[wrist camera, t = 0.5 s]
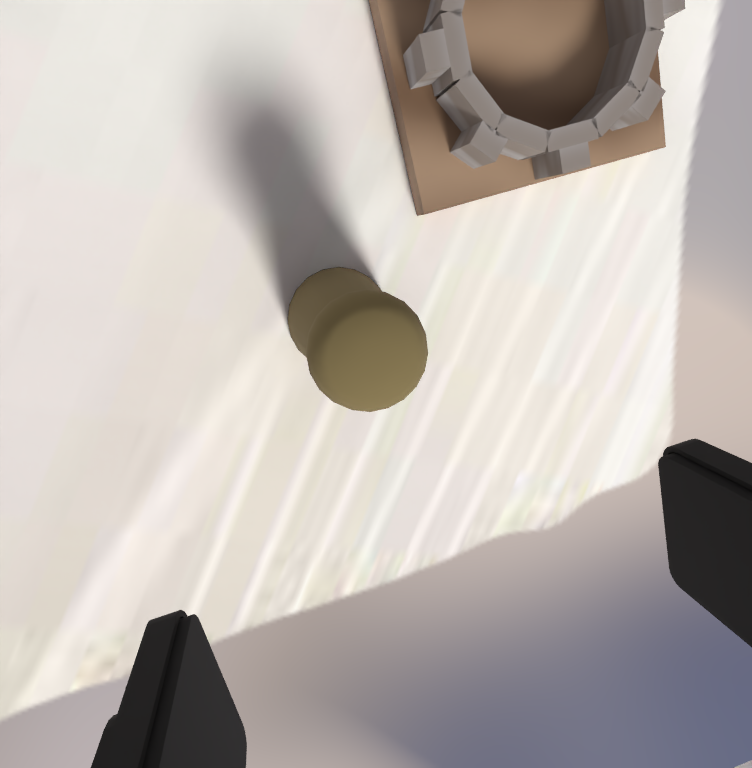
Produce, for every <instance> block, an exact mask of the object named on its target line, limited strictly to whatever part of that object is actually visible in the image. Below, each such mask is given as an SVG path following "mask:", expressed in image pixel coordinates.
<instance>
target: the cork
mask: <svg viewBox="0 0 752 768" xmlns="http://www.w3.org/2000/svg"><path fill="white" fill-rule="evenodd" d="M288 325H289V330H290V335H291V338H292V339H293V341H294V343H295V345H296V346H297V348H298V350H299V351H300V352H301V353H302V354H303V355H304V356H306V357H307V361H308V366H309V371H310V374H311V376H312V377H313V379H314V381H315V383H316V385H317V386H318V388H319V390H320V391H322V392H323V393H324V394H325V395H326V396H327V397H328V398H329V399H331V400H332V401H333V402H335V403H337V404H339V405H342V406H344V407H346V408H349V409H351V410H357V411H367V412H372V411H377V410H381V409H386V408H389V407H391V406H393V405H395V404H396V403H398V402H400V401H402V400H404V399H405V398H406V397H407V396H408V395H409V394H410V393H411V392H412V391H413V389H414V388H415V387H416V386H417V384H418V383H419V381H420V379H421V377H422V375H423V373H424V371H425V367H426V361H427V356H428V349H427V341H426V334H425V331H424V329H423V327H422V324H421V322H420V320H419V318H418V316H417V315H416V314H415V312H414V311H413V310H412V309H411V308H410V307H409V306H408V305H407V304H406V303H405V302H404V301H402V300H400V299H398V298H396V297H394V296H392V295H390V294H388V293H386V292H382V291H381V289H380V288H379V287H378V286H377V285H376V284H375V283H374V282H373V281H372V280H371V279H370V278H369V277H368V276H366V275H364V274H362V273H360V272H358V271H356V270H354V269H348V268H341V267H336V268H330V269H324V270H321V271H319V272H317V273H315V274H314V275H312V276H310V277H308V278H307V279H306V280H305V281H304V282H303V283H302V284H301V285H300V286H299V287H298V288H297V289H296V292H295V294H294V296H293V298H292V300H291V302H290V304H289V313H288Z"/></svg>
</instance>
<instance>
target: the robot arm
mask: <svg viewBox="0 0 752 768" xmlns="http://www.w3.org/2000/svg"><path fill="white" fill-rule="evenodd" d="M658 466H659V476H660V485H661V495H662V504H663V513H664V523H665V533H666V542H667V551H668V560H669V569H670V573H671V575H672V577H673V579H674V581H675V582H676V584H677V585H678V586H679V587H680V588H681V589H682V590H683V591H685V592H686V593H687V594H688V595H690V596H691V597H692V598H693V599H694V600H695V601H697V602H698V603H699V604H700V605H702V606H703V607H704V608H705V609H706V610H708V611H709V612H710V613H711V614H712V615H714V616H715V617H716V618H717V619H718V620H720V621H721V622H722V623H723V624H724V625H726V626H727V627H728V628H729V629H730V630H732V631H733V632H734V633H735V634H736V635H738V636H739V637H740V638H741V639H743V640H744V641H745V642H746V643H747V644H749V645H750V646H751V647H752V463H750V462H748V461H746V460H744V459H741V458H739V457H737V456H735V455H732V454H730V453H728V452H726V451H723V450H721V449H719V448H717V447H714V446H712V445H710V444H708V443H706V442H703V441H701V440H698V439H691V440H688V441H685V442H682V443H679V444H676V445H673V446H670V447H667V448H666V449H665V450H664V453H663V457H661V458H660V459H659V463H658ZM246 749H247V743H246V735H245V730H244V726H243V724H242V721H241V719H240V716H239V714H238V712H237V709H236V707H235V704H234V702H233V699H232V697H231V695H230V692H229V690H228V687H227V685H226V683H225V680H224V678H223V676H222V673H221V671H220V669H219V666H218V664H217V661H216V659H215V657H214V654H213V652H212V649H211V647H210V644H209V642H208V640H207V637H206V635H205V633H204V630H203V628H202V625H201V623H200V621H199V619H198V617H197V616H196V615H195V614H193V615H190V616H187V615H186V613H185V612H184V611H183V610H179V611H176V612H173V613H170V614H167V615H164V616H161V617H158V618H155V619H152V620H150V621H149V622H148V624H147V626H146V629H145V632H144V635H143V638H142V641H141V644H140V647H139V650H138V653H137V656H136V659H135V662H134V665H133V668H132V671H131V674H130V677H129V680H128V684H127V686H126V690H125V693H124V695H123V698H122V702H121V705H120V708H119V711H118V714H116V715H114V716H113V717H112V718H111V719H110V720H109V721H108V723H107V725H106V727H105V729H104V731H103V734H102V738H101V740H100V743H99V746H98V749H97V752H96V754H95V757H94V760H93V763H92V766H91V768H246V751H247V750H246ZM735 768H752V761H749V762H747V763H744V764H742V765H740V766H737V767H735Z"/></svg>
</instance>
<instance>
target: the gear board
mask: <svg viewBox="0 0 752 768" xmlns="http://www.w3.org/2000/svg"><path fill="white" fill-rule="evenodd" d="M369 4H370V8H371V13H372V17H373V22H374V26H375V31H376V35H377V40H378V44H379V48H380V53H381V57H382V62H383V66H384V71H385V75H386V79H387V84H388V88H389V93H390V97H391V102H392V106H393V110H394V115H395V119H396V124H397V128H398V133H399V137H400V141H401V146H402V150H403V155H404V159H405V164H406V168H407V173H408V177H409V181H410V186H411V190H412V195H413V199H414V204H415V208H416V212H417V215H424V214H428V213H432V212H435V211H439V210H442V209H446V208H449V207H453V206H457V205H460V204H464V203H467V202H471V201H474V200H478V199H482V198H485V197H489V196H492V195H496V194H499V193H503V192H507V191H510V190H514V189H517V188H521V187H524V186H528V185H532V184H535V183H539V182H542V181H546V180H550V179H553V178H557V177H560V176H564V175H567V174H571V173H575V172H578V171H582V170H585V169H589V168H592V167H596V166H600V165H603V164H607V163H610V162H614V161H617V160H621V159H625V158H628V157H632V156H635V155H639V154H642V153H646V152H650V151H653V150H657V149H660V148H664V147H666V145H665V132H664V120H663V108H662V96H663V95H664V93H665V90H664V89H662V88H661V84H660V72H659V59H658V48H659V45H660V43H661V40H662V37H663V34H664V32H663V31H660V30H661V29H663V28H665V26H664V20H665V19H667V18H669V17H670V16H672V15H674V14H676V13H678V12H680V11H682V10H683V9H685V0H369Z"/></svg>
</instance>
